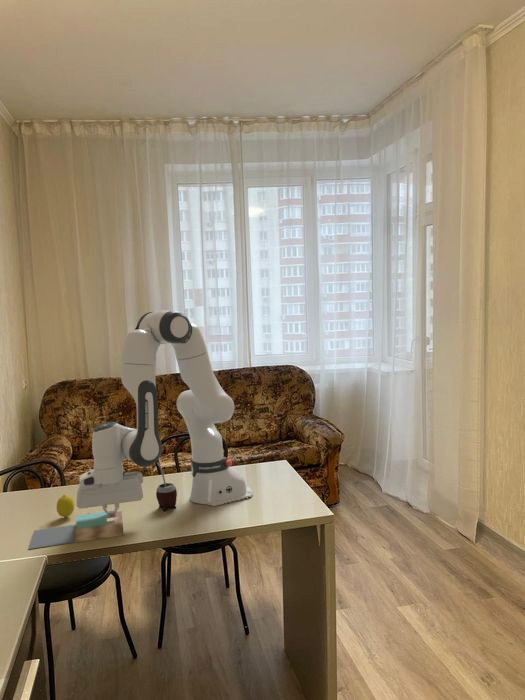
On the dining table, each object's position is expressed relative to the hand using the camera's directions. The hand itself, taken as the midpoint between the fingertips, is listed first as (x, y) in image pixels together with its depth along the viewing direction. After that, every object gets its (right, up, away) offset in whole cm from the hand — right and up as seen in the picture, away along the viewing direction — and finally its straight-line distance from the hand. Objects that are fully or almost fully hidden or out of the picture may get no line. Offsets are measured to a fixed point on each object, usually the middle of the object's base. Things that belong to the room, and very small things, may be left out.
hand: (111, 517), depth 171 cm
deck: (-3, -4, -1) cm, 5 cm away
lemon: (-18, -4, +11) cm, 21 cm away
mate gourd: (+15, -2, +16) cm, 22 cm away
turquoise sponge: (-6, -1, -1) cm, 6 cm away
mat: (-16, -5, -4) cm, 18 cm away
